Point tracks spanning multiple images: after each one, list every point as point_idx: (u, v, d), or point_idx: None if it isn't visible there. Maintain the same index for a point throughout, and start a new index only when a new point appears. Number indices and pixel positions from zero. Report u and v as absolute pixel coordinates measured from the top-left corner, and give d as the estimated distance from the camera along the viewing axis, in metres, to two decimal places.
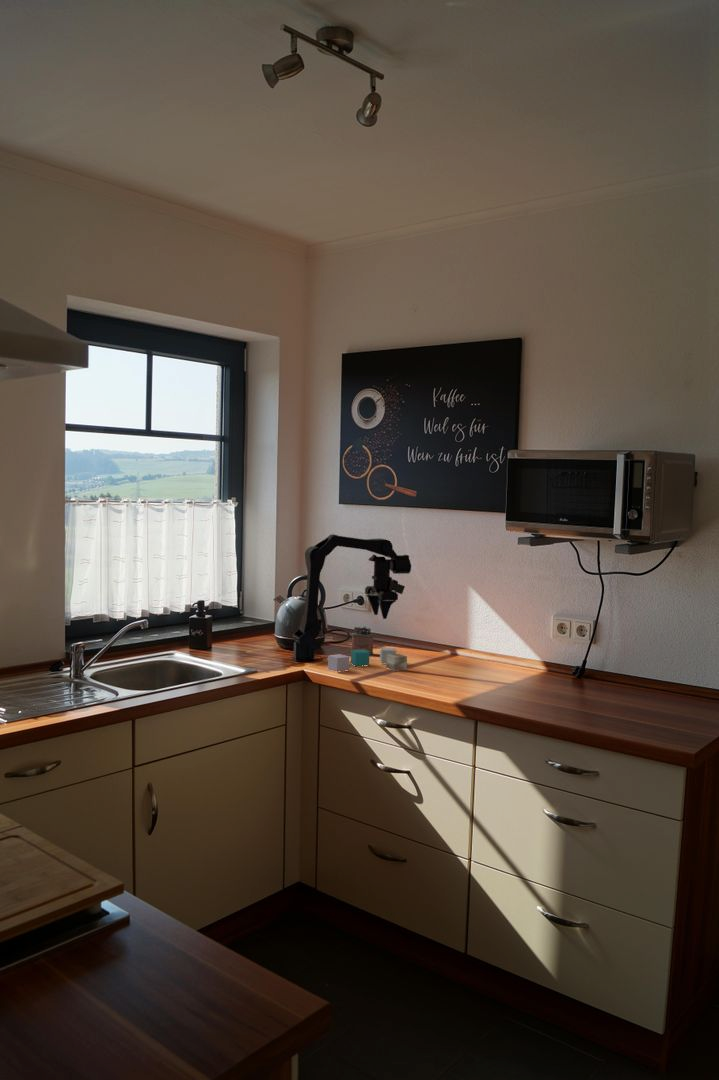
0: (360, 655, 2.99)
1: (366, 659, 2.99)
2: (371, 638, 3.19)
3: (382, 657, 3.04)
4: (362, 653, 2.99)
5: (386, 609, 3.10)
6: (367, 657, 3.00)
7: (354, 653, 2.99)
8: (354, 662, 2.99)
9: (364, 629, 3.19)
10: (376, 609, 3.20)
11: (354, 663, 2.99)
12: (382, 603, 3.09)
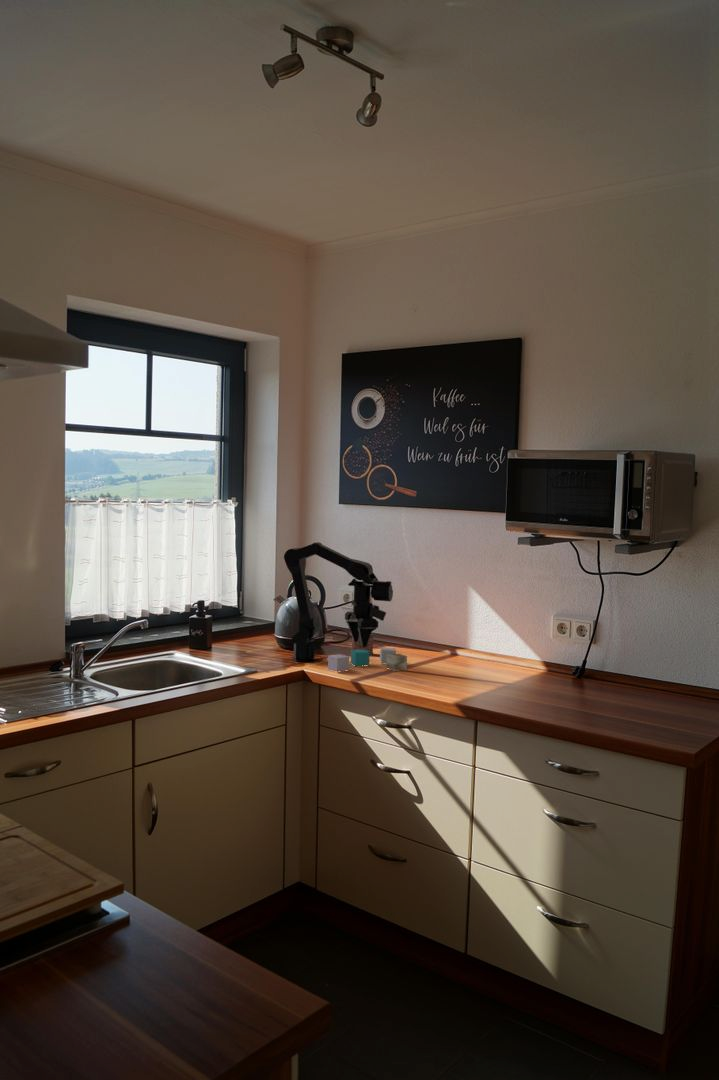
0: (360, 655, 2.99)
1: (366, 659, 2.99)
2: (371, 638, 3.19)
3: (382, 657, 3.04)
4: (362, 653, 2.99)
5: (366, 637, 2.95)
6: (367, 657, 3.00)
7: (354, 653, 2.99)
8: (354, 662, 2.99)
9: None
10: (356, 636, 3.05)
11: (354, 663, 2.99)
12: (362, 631, 2.94)
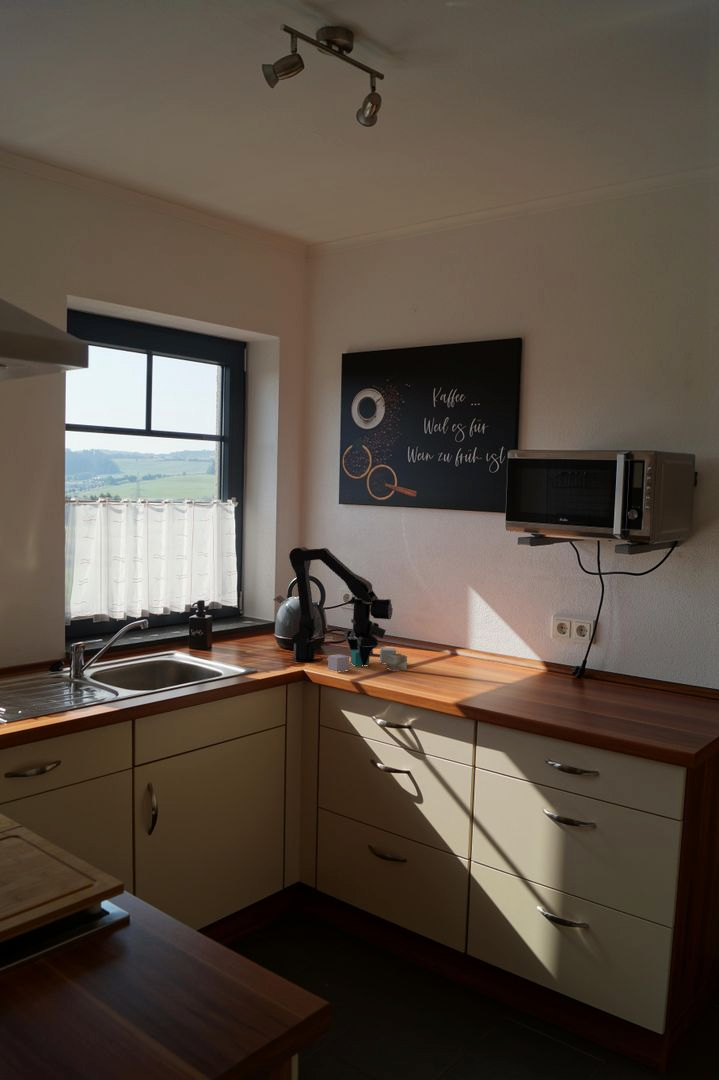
0: None
1: None
2: None
3: (382, 657, 3.04)
4: None
5: (366, 655, 2.96)
6: None
7: (354, 653, 2.99)
8: (354, 662, 2.99)
9: None
10: None
11: (354, 663, 2.99)
12: (361, 649, 2.94)
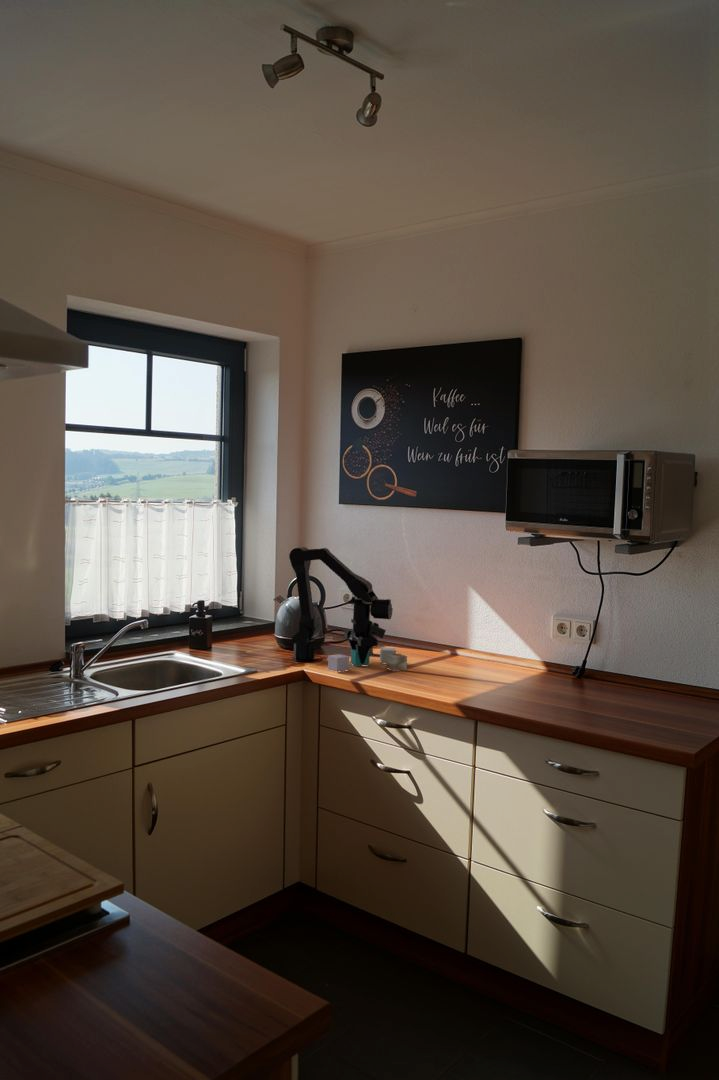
0: None
1: (366, 659, 2.99)
2: None
3: (382, 657, 3.04)
4: None
5: (364, 654, 2.98)
6: (367, 657, 3.00)
7: (354, 653, 2.99)
8: (354, 662, 2.99)
9: None
10: None
11: (354, 663, 2.99)
12: (359, 648, 2.96)
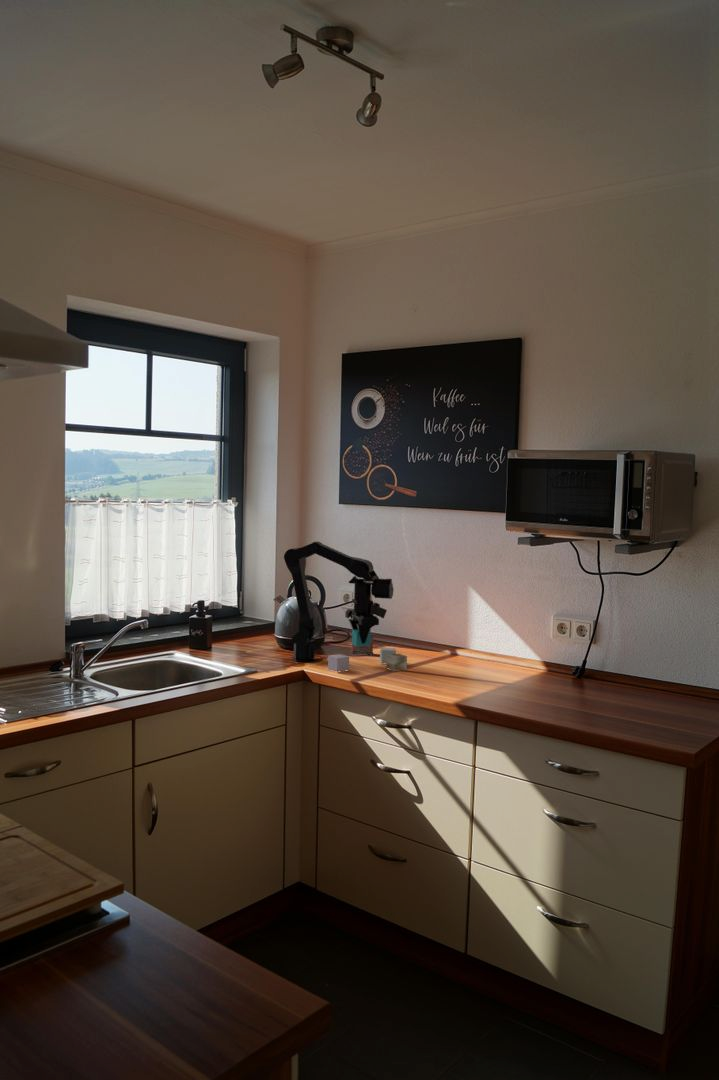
0: None
1: (367, 638, 2.99)
2: (371, 638, 3.19)
3: (382, 657, 3.04)
4: None
5: (365, 633, 2.97)
6: (368, 637, 2.99)
7: (355, 632, 2.99)
8: (355, 641, 2.99)
9: None
10: None
11: (355, 642, 2.99)
12: (360, 627, 2.96)
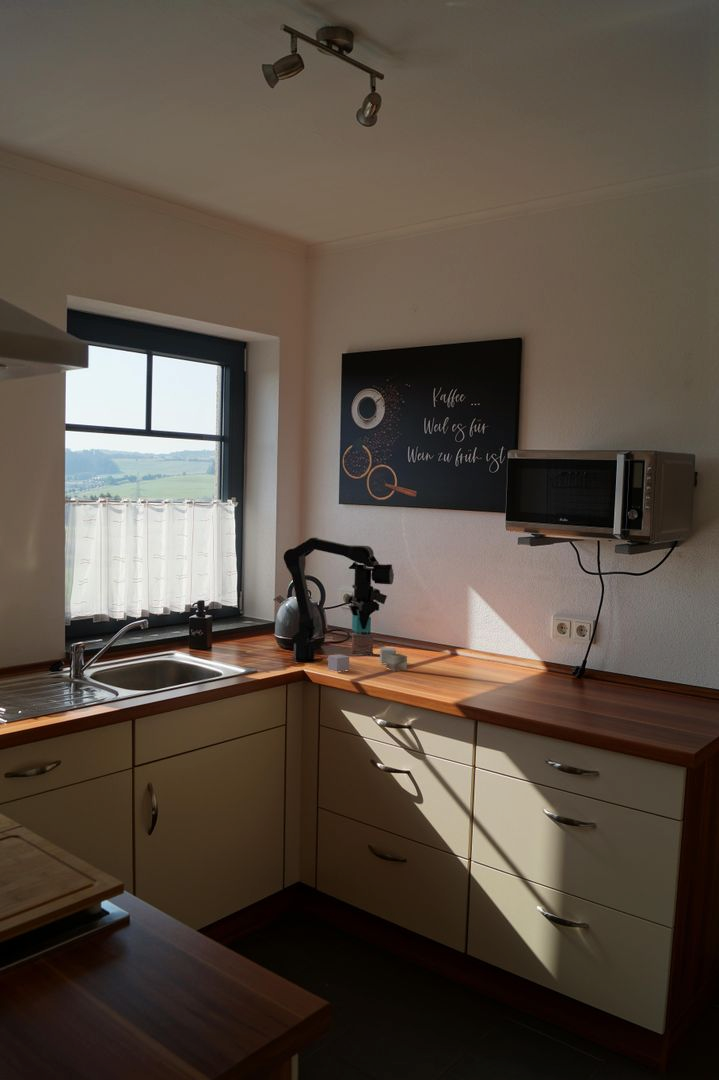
0: None
1: (367, 624, 2.99)
2: (371, 638, 3.19)
3: (382, 657, 3.04)
4: None
5: (365, 619, 2.97)
6: (369, 622, 2.99)
7: (355, 618, 2.99)
8: (355, 627, 2.98)
9: None
10: None
11: (355, 628, 2.99)
12: (361, 613, 2.95)
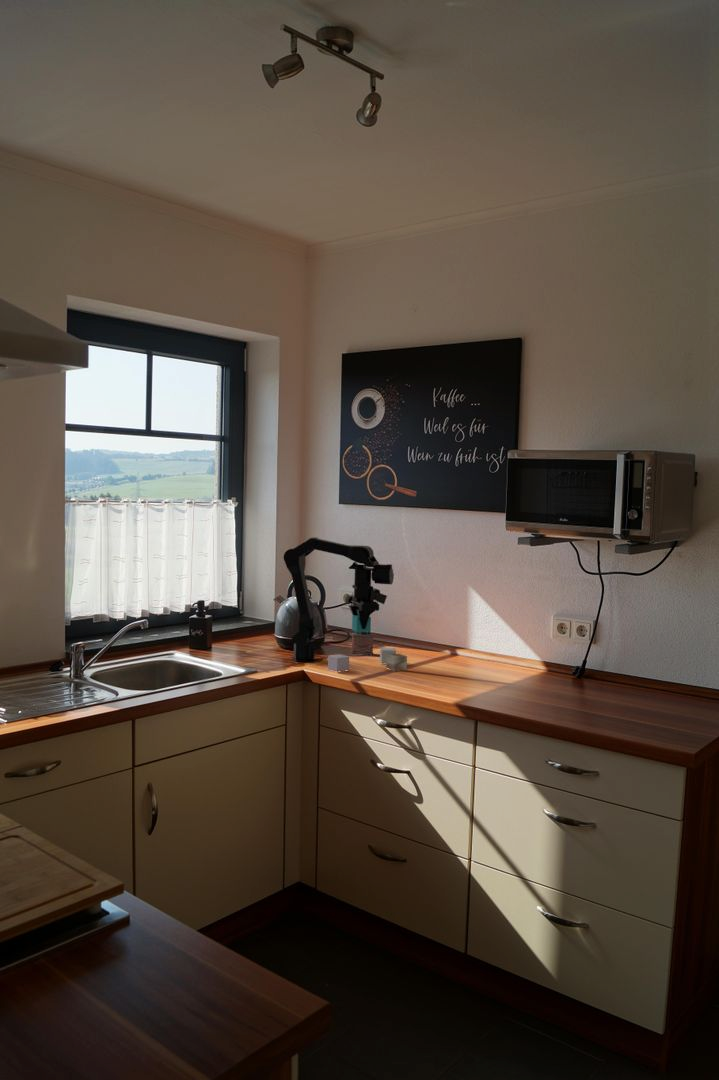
0: None
1: (367, 624, 2.99)
2: (371, 638, 3.19)
3: (382, 657, 3.04)
4: None
5: (365, 619, 2.97)
6: (369, 622, 2.99)
7: (355, 618, 2.99)
8: (355, 627, 2.98)
9: None
10: None
11: (355, 628, 2.99)
12: (361, 613, 2.95)
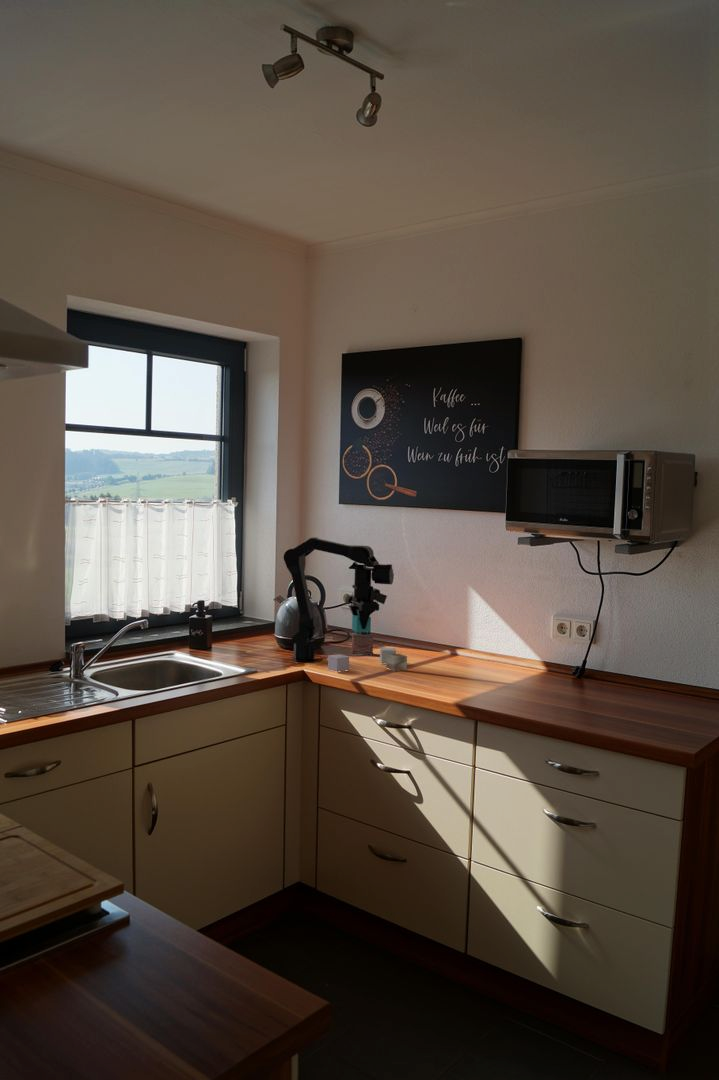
0: None
1: (367, 624, 2.99)
2: (371, 638, 3.19)
3: (382, 657, 3.04)
4: None
5: (365, 619, 2.97)
6: (369, 622, 2.99)
7: (355, 618, 2.99)
8: (355, 627, 2.98)
9: None
10: None
11: (355, 628, 2.99)
12: (361, 613, 2.95)
